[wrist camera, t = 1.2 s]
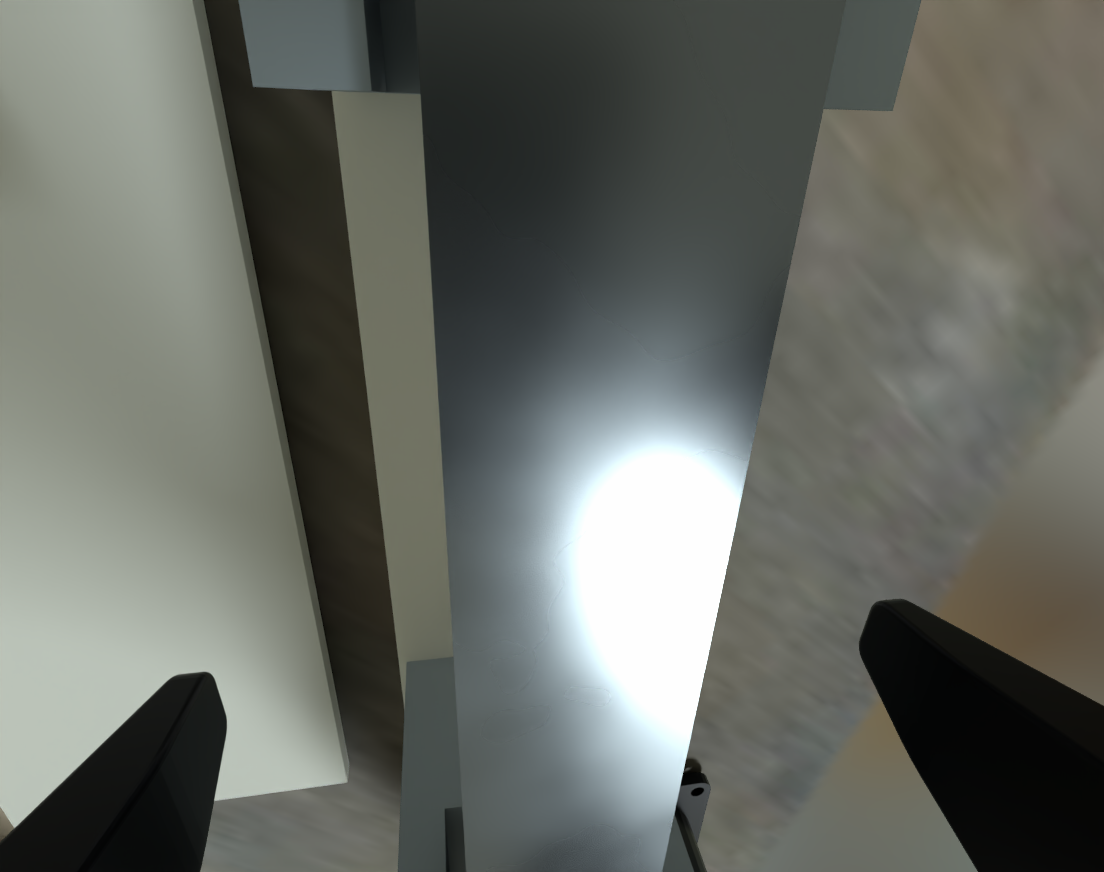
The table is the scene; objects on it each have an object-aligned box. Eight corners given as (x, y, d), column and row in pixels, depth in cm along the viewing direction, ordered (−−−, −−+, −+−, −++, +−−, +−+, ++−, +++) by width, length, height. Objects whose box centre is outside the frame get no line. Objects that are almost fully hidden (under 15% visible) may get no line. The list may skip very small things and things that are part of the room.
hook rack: (598, 731, 21) (670, 1002, 15) (414, 755, 20) (407, 1057, 14) (705, -307, 9) (1235, -1082, 3) (289, -371, 8) (-100, -1654, 2)
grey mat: (349, 764, 20) (347, 782, 19) (26, 807, 18) (14, 828, 18) (128, -394, 8) (107, -427, 8) (-792, -534, 7) (-896, -588, 6)
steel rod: (594, 874, 15) (627, 1035, 13) (469, 895, 15) (477, 1067, 12) (735, -331, 6) (991, -693, 3) (396, -387, 5) (363, -875, 3)
